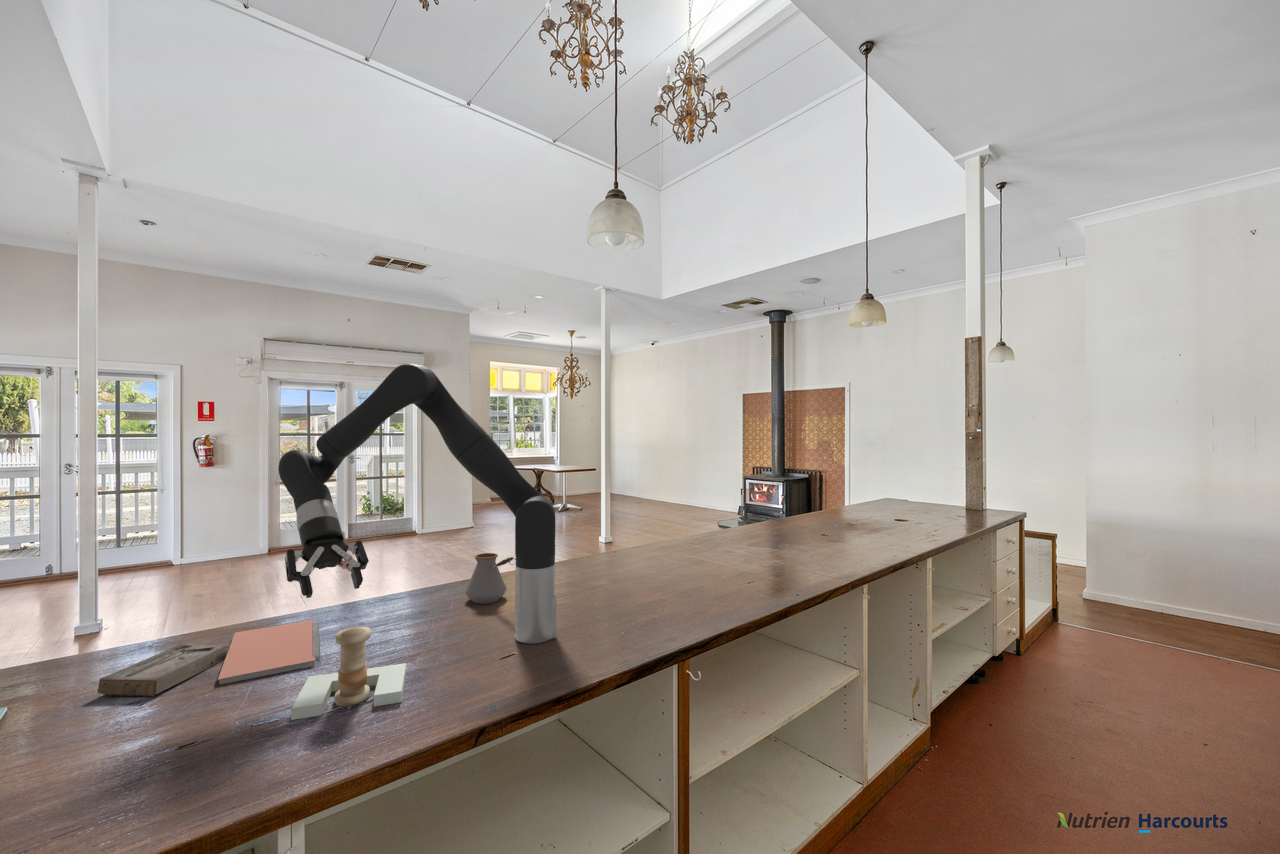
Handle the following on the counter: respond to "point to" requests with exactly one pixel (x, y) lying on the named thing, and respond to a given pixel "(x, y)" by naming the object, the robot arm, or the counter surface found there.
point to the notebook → (271, 651)
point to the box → (162, 670)
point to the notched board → (322, 686)
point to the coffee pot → (487, 579)
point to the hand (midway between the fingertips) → (334, 591)
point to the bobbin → (352, 666)
